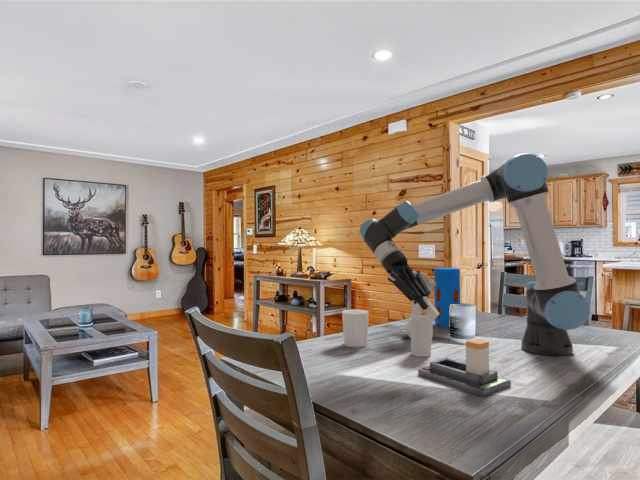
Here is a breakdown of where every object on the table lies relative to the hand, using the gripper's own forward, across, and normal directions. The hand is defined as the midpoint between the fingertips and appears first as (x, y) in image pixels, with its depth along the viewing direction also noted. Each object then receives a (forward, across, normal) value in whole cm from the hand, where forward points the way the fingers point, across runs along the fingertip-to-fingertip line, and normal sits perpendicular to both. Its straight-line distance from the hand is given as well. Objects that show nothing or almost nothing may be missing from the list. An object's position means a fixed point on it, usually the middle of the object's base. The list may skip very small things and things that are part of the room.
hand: (435, 317), depth 115 cm
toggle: (+19, 0, +1) cm, 19 cm away
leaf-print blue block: (-15, +55, +38) cm, 68 cm away
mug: (+1, +12, +21) cm, 24 cm away
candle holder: (-16, +1, +37) cm, 40 cm away
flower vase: (-12, +28, +34) cm, 45 cm away
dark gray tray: (+17, 0, +5) cm, 18 cm away
